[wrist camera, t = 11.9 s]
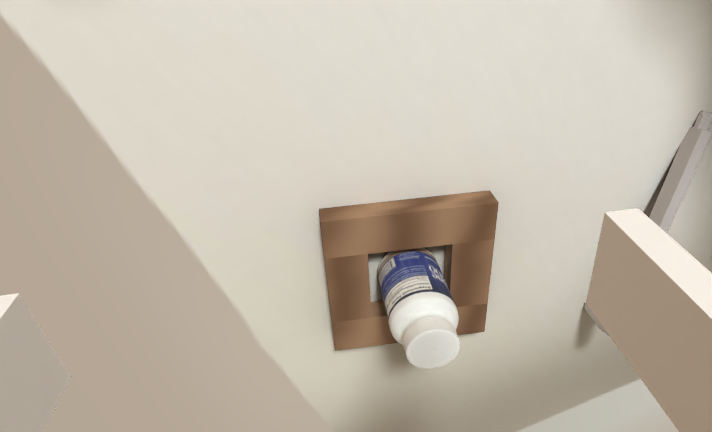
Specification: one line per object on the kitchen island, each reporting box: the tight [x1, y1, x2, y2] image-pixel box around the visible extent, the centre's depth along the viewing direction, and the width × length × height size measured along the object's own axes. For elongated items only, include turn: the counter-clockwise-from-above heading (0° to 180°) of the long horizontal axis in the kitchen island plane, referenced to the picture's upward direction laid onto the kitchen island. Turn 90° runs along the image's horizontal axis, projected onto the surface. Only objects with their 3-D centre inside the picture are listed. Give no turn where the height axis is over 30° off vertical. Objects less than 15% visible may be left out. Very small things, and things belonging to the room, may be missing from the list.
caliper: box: [584, 111, 712, 336], centre depth 41 cm, size 20×1×6 cm, turn 167°
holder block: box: [319, 191, 498, 350], centre depth 42 cm, size 14×14×2 cm
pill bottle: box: [377, 248, 460, 369], centre depth 39 cm, size 5×5×10 cm
